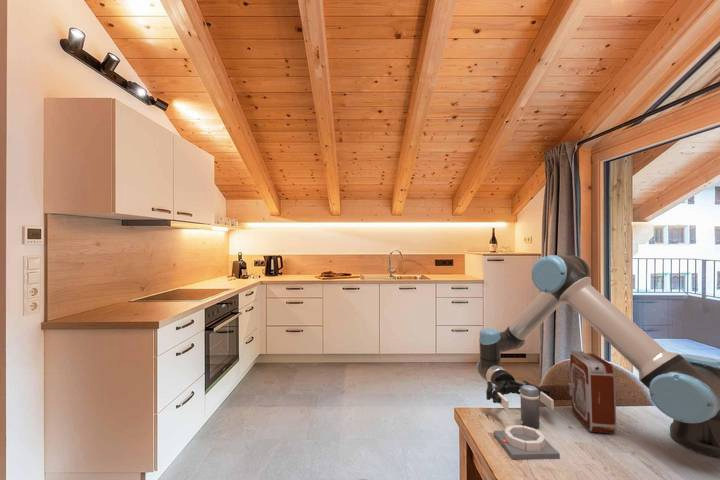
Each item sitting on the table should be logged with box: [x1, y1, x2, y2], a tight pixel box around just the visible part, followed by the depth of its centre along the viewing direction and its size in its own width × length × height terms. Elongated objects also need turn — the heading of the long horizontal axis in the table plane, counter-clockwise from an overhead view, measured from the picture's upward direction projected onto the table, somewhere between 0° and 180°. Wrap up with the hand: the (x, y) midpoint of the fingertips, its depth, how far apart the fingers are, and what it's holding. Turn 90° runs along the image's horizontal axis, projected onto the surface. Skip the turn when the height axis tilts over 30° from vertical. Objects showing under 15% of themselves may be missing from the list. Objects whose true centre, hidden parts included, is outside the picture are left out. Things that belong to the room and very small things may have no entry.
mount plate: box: [493, 424, 561, 460], centre depth 95 cm, size 12×12×3 cm
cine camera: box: [567, 350, 617, 434], centre depth 110 cm, size 9×19×20 cm, turn 169°
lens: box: [519, 385, 540, 430], centre depth 107 cm, size 5×5×11 cm
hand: (530, 405), depth 106 cm, fingers open, 13 cm apart
